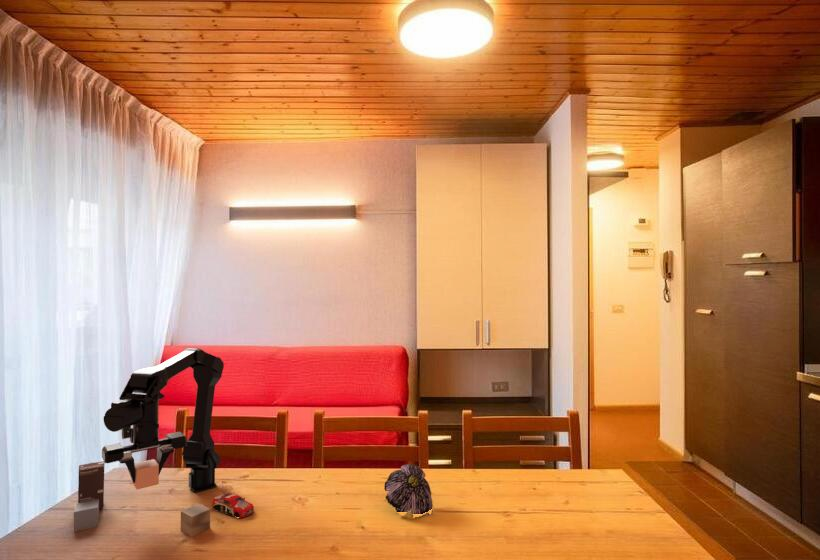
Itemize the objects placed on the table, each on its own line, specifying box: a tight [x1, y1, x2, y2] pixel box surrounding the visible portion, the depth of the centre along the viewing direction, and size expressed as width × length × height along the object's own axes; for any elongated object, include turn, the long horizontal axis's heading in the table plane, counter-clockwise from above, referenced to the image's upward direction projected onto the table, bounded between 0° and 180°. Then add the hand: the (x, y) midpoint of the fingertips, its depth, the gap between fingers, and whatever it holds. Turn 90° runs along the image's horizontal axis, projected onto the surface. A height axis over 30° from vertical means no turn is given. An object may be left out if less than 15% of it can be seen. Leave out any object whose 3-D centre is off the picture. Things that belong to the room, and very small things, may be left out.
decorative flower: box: [383, 463, 434, 515], centre depth 134 cm, size 15×12×15 cm
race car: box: [211, 492, 255, 519], centre depth 131 cm, size 13×5×4 cm, turn 61°
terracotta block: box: [132, 458, 160, 490], centre depth 123 cm, size 5×5×5 cm
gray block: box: [73, 499, 100, 532], centre depth 123 cm, size 5×5×5 cm
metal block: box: [180, 503, 211, 537], centre depth 121 cm, size 5×5×5 cm
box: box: [77, 460, 106, 510], centre depth 131 cm, size 6×4×12 cm
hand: (145, 479), depth 123 cm, fingers closed on terracotta block, 5 cm apart
